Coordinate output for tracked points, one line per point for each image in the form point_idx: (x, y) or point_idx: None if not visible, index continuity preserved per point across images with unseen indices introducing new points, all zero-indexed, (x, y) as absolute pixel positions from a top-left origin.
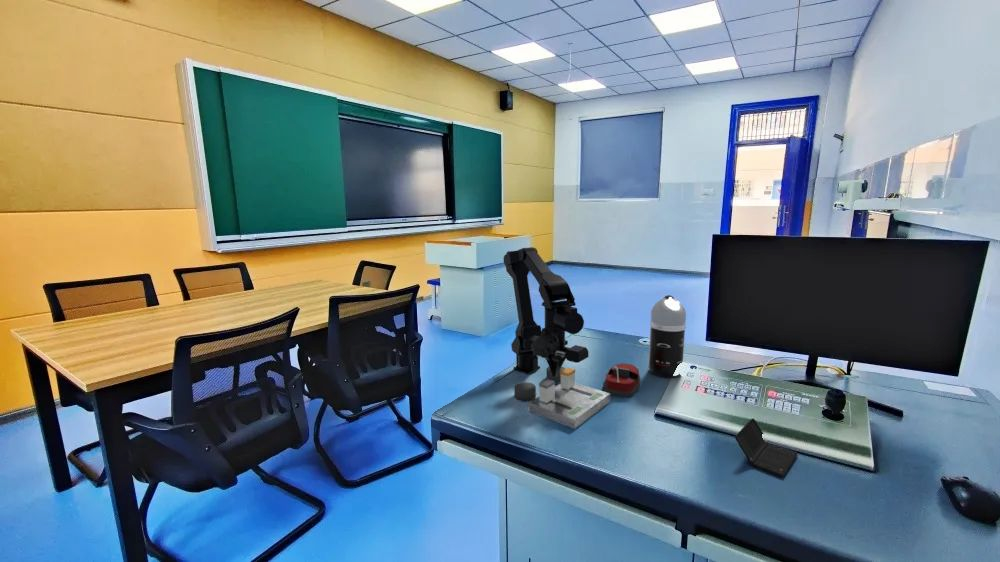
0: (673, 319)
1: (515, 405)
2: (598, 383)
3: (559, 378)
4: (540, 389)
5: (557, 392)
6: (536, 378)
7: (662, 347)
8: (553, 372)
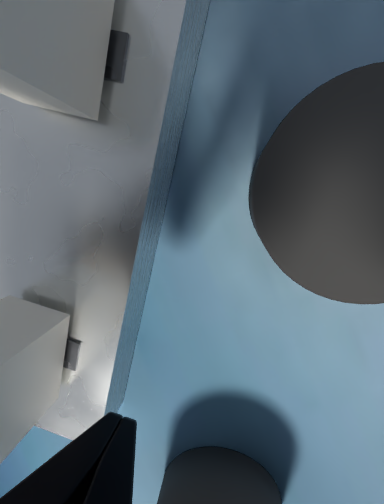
0: None
1: (361, 7)
2: (10, 485)
3: (177, 482)
4: None
5: (66, 236)
6: (345, 479)
7: None
8: (98, 458)
